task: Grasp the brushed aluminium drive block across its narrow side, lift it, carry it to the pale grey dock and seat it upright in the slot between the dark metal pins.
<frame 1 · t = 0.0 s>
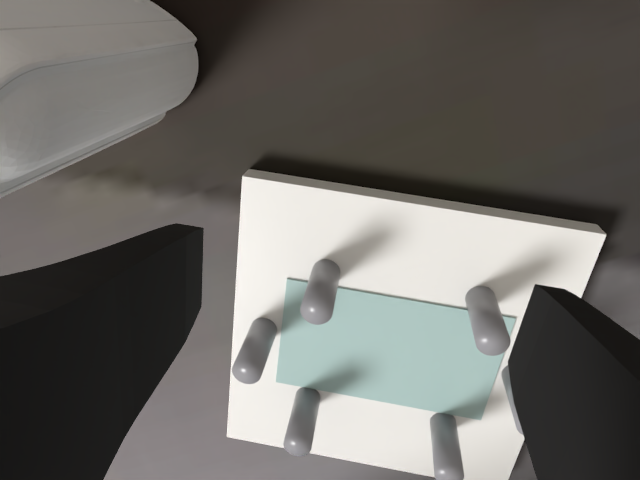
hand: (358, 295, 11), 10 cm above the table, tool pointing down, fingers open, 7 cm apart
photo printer: (79, 13, 20), on the table
dock: (387, 337, 24), on the table
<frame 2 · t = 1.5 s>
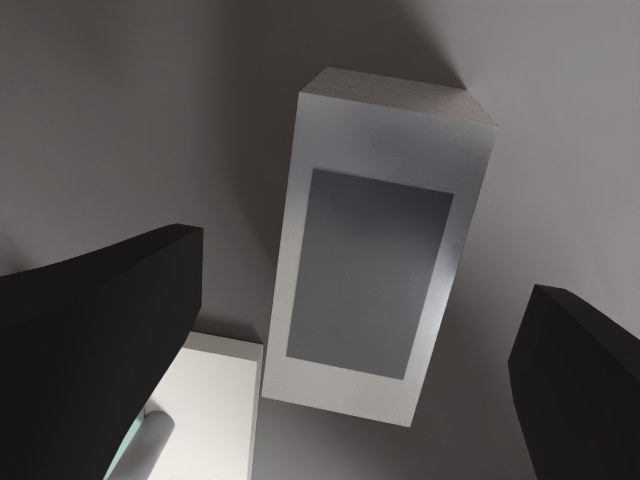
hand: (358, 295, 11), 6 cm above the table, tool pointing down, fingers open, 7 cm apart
drive: (370, 206, 16), on the table
dock: (95, 445, 22), on the table
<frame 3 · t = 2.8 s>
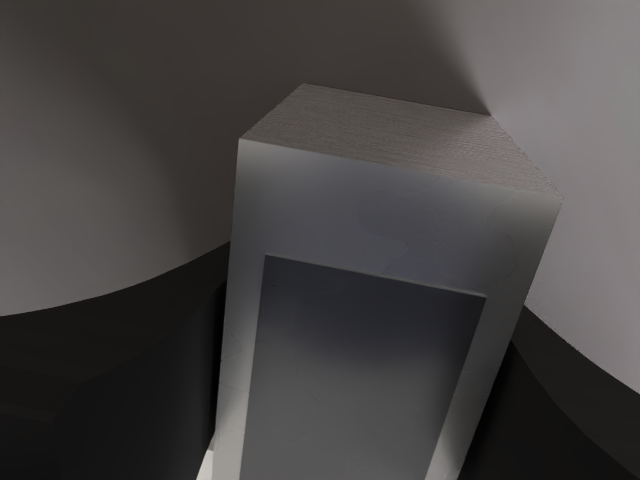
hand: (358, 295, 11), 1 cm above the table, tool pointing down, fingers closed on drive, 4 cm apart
drive: (361, 265, 12), on the table, touching gripper
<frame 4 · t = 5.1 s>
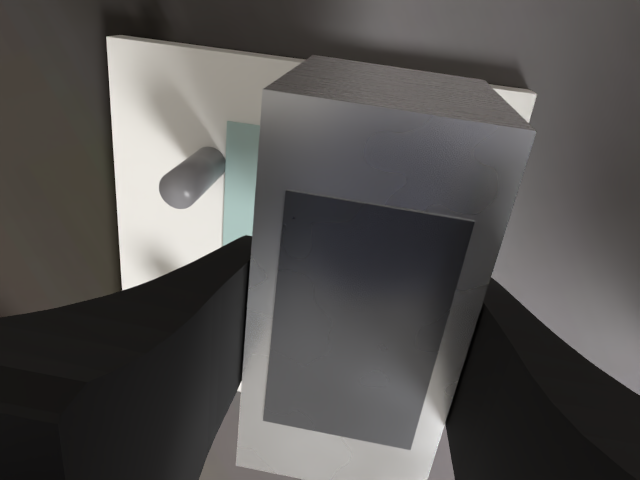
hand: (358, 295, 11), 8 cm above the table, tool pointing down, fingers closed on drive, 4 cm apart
drive: (369, 222, 14), point 5 cm above the table, touching gripper
dock: (299, 246, 20), on the table
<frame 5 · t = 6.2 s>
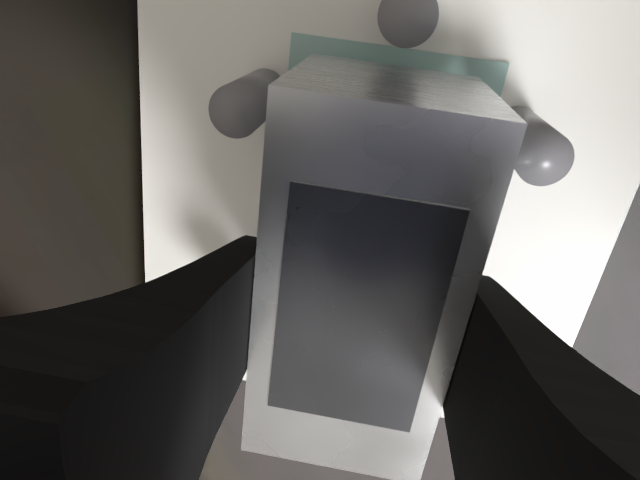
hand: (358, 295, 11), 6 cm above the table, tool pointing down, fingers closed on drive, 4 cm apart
drive: (368, 216, 14), point 2 cm above the table, touching gripper
dock: (370, 205, 16), on the table
when the fingers open (4 cm above the table, at t = 7.4 s): drive stays where it is, resting on dock.
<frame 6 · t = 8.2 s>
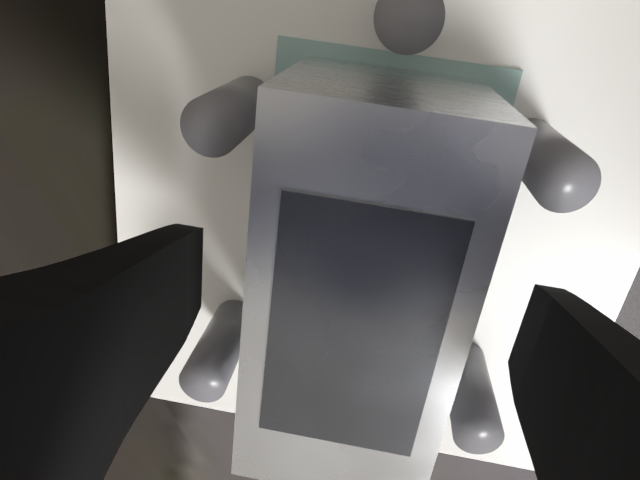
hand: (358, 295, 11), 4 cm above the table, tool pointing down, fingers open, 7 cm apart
drive: (366, 225, 13), point 1 cm above the table, touching dock
dock: (366, 225, 15), on the table
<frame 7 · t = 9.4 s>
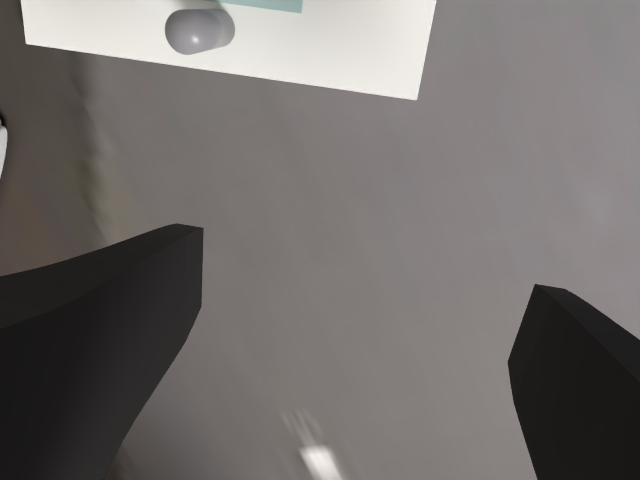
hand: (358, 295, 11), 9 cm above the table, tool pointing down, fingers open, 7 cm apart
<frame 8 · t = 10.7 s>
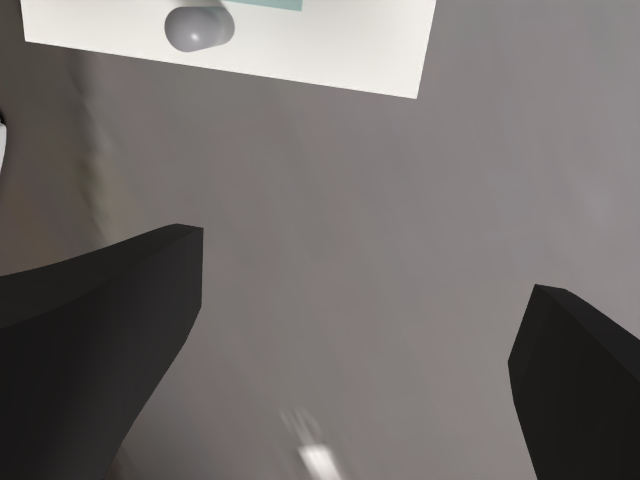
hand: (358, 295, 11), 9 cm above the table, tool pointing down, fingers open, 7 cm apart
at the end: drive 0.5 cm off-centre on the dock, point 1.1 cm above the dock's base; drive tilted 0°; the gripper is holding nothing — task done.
